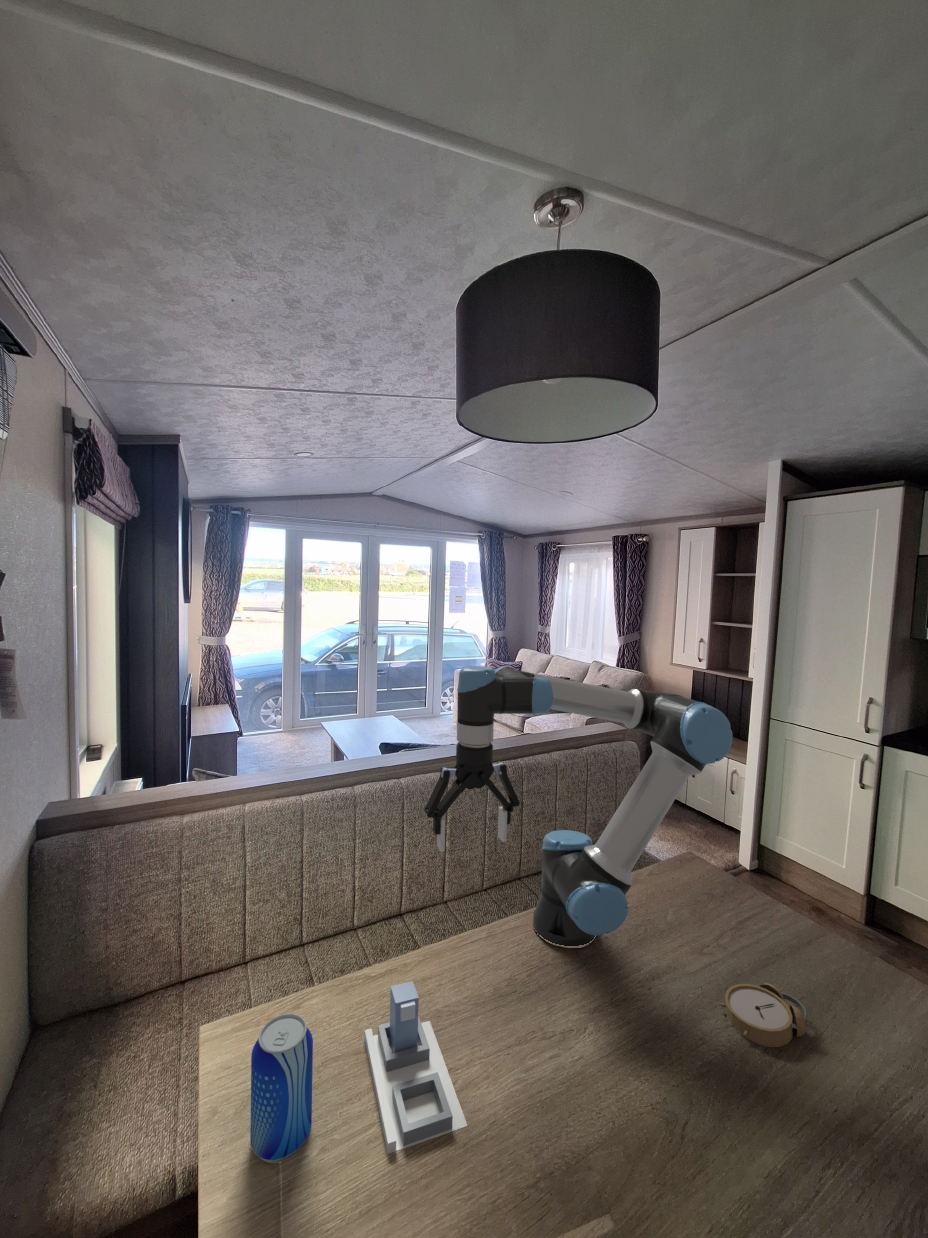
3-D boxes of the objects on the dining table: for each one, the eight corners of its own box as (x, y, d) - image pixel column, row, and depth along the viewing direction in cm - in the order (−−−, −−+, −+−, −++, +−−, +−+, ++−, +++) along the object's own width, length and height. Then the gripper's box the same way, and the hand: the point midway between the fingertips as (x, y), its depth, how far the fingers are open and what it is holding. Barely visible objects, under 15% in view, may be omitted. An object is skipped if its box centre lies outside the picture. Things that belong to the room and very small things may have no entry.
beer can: (239, 1140, 74) (240, 1033, 74) (291, 1098, 81) (293, 999, 80) (269, 1184, 69) (270, 1069, 68) (322, 1135, 75) (324, 1030, 75)
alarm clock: (710, 989, 103) (776, 969, 105) (713, 1012, 103) (779, 992, 105) (751, 1037, 92) (823, 1014, 94) (754, 1063, 92) (826, 1039, 94)
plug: (411, 1035, 92) (412, 981, 91) (418, 1058, 87) (420, 1001, 87) (389, 1041, 91) (390, 986, 90) (395, 1065, 86) (396, 1007, 86)
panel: (429, 1026, 95) (429, 1010, 95) (467, 1132, 76) (467, 1113, 76) (364, 1043, 91) (364, 1027, 91) (387, 1160, 72) (388, 1140, 72)
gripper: (521, 733, 113) (518, 828, 114) (411, 742, 104) (408, 844, 105) (537, 743, 106) (534, 843, 107) (420, 752, 97) (418, 862, 98)
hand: (472, 844), depth 106 cm, fingers open, 13 cm apart
